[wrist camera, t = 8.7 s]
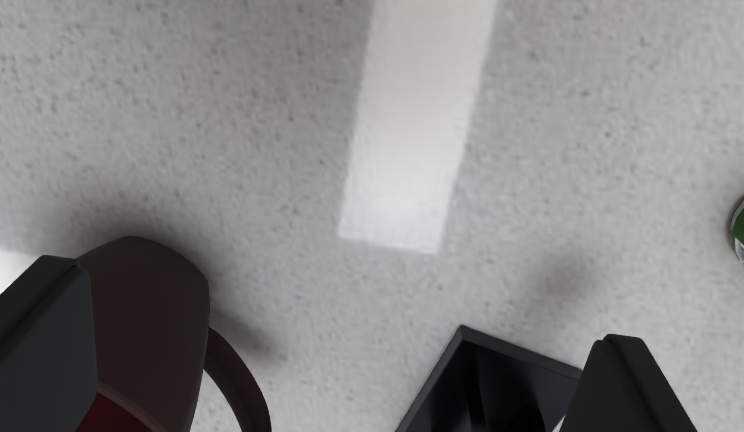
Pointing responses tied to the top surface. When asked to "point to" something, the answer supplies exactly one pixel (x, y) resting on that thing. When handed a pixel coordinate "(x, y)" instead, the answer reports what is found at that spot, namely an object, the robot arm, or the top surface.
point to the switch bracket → (492, 389)
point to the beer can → (738, 232)
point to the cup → (158, 343)
